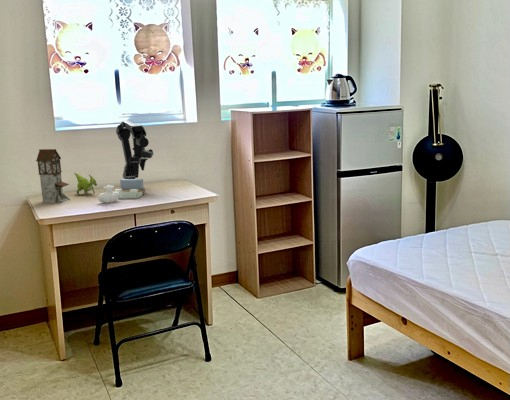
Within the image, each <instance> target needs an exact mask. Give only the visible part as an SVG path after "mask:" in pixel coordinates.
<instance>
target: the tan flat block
mask: <svg viewBox="0 0 510 400" xmlns="http://www.w3.org/2000/svg"><path fill="white" fill-rule="evenodd" d="M141 191H142V194H145V193H146V189H145V187H144V188H143V189H138V193H140V192H141ZM122 192H130V189H122Z"/></svg>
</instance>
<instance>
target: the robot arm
mask: <svg viewBox="0 0 510 400" xmlns="http://www.w3.org/2000/svg"><path fill="white" fill-rule="evenodd" d="M115 133H116V135H117V138H118V139H119V140H120V142H121V146H122V150H123V156H124V162H125V165H124V167H123V174H122V179H139V173H140V169H141V171H145V168H146V167H145V166H146V162H147V161H148V160H149V159H151V158H152V159H153V155H154V151H153V149H150V148H149V149H148V150H147V149H146V147H148V146H149V139H148V138H147V131H146V130H145V128H144V126H143V125H142V124H135V123H133V122H132V121H131V120H122V121H121V123H120V124H119V125H117V126H116V130H115ZM131 136H132V137H131ZM130 138H132V144H133V147H132V149H131V145H130V144H131V143H130ZM132 151H133V154H132Z"/></svg>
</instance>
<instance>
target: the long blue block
mask: <svg viewBox="0 0 510 400" xmlns="http://www.w3.org/2000/svg"><path fill="white" fill-rule="evenodd" d="M119 182H120V183H119V184H120V189H143V188H145V187H144V179H143V178H135V179H124V178H122V179H120V180H119Z"/></svg>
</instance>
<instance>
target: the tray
mask: <svg viewBox="0 0 510 400" xmlns="http://www.w3.org/2000/svg"><path fill="white" fill-rule="evenodd" d="M118 193H119V198H118V200H124V199H125V200H130V199H131V200H135V199H136V200H137V199H139V198H141V197H143V194H142V191H141V192H140V193H138V194H137V192H118Z"/></svg>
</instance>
